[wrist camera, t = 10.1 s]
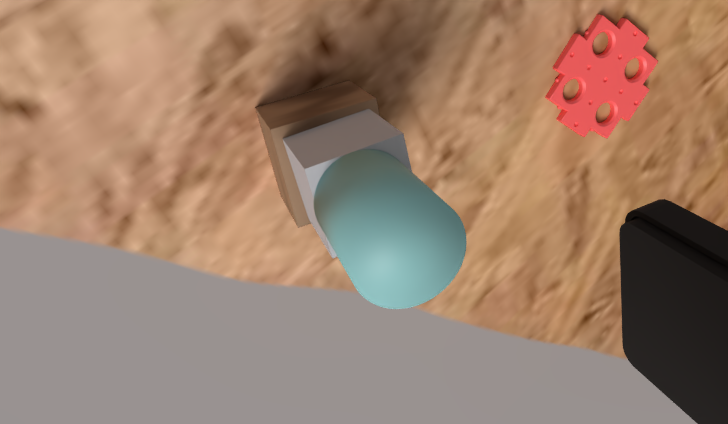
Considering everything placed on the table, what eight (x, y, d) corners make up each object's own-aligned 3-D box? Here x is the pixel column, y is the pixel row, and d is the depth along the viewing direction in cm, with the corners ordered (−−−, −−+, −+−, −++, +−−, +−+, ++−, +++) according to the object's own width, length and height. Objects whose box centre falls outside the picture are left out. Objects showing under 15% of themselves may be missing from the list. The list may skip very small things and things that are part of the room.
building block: (671, 56, 44) (602, -3, 40) (608, 152, 45) (535, 104, 42) (663, 55, 44) (594, -4, 41) (600, 149, 46) (528, 101, 42)
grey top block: (368, 108, 33) (403, 133, 29) (388, 188, 35) (423, 222, 31) (282, 138, 32) (304, 169, 28) (308, 218, 34) (332, 258, 30)
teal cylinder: (403, 136, 29) (459, 180, 23) (418, 227, 31) (472, 285, 26) (302, 166, 28) (337, 219, 23) (326, 258, 30) (362, 325, 25)
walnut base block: (349, 79, 37) (376, 98, 33) (367, 168, 40) (395, 195, 36) (254, 107, 36) (270, 129, 32) (280, 195, 39) (298, 227, 34)
